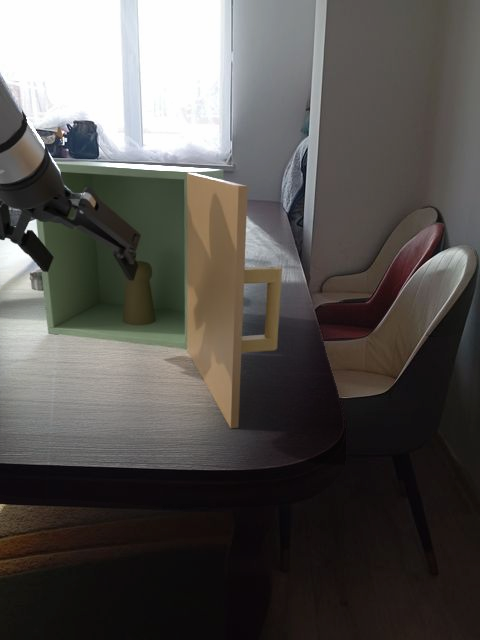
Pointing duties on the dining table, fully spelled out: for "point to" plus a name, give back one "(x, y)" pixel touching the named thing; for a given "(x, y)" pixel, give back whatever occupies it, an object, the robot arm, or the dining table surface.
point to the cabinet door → (223, 288)
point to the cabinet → (100, 264)
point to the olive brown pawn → (139, 297)
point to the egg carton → (36, 279)
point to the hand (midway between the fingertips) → (90, 268)
